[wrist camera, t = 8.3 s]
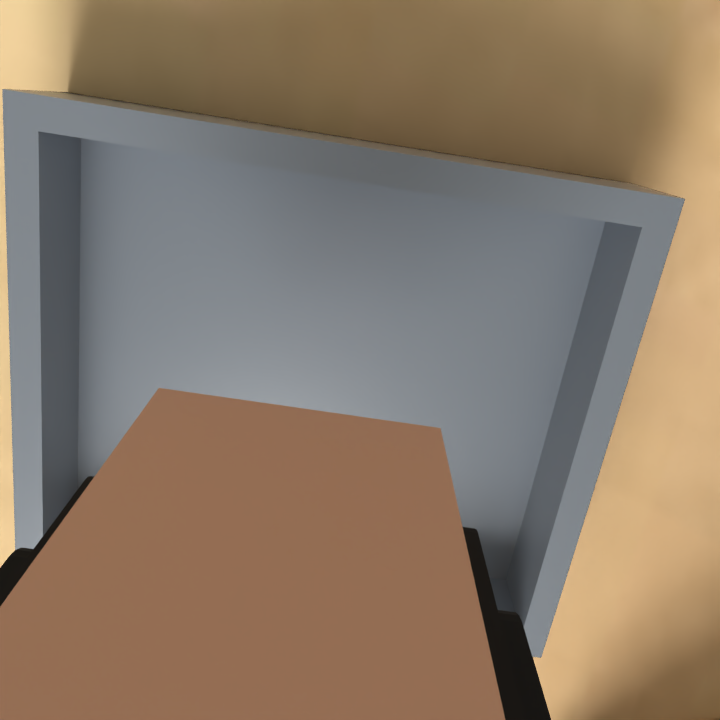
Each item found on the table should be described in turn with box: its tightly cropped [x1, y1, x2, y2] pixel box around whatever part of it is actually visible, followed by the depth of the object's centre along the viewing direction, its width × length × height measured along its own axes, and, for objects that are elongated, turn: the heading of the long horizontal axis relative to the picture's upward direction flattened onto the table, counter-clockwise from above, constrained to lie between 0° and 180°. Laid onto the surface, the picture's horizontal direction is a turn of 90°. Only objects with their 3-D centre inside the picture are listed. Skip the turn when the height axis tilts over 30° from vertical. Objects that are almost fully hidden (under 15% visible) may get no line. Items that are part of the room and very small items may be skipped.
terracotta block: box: [0, 388, 505, 720], centre depth 9 cm, size 5×5×8 cm
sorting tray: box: [3, 89, 685, 658], centre depth 20 cm, size 16×14×4 cm
